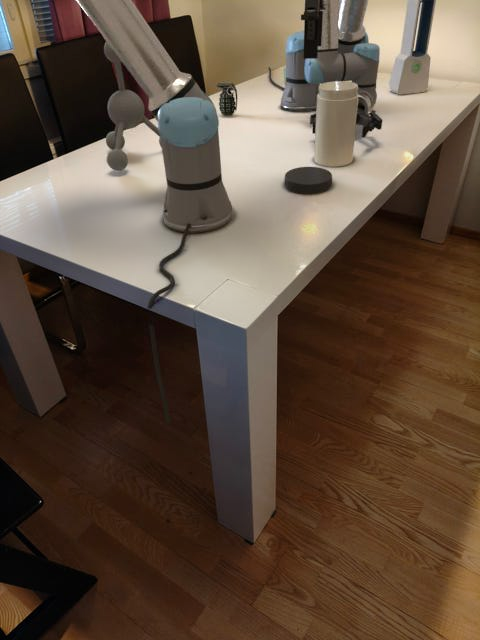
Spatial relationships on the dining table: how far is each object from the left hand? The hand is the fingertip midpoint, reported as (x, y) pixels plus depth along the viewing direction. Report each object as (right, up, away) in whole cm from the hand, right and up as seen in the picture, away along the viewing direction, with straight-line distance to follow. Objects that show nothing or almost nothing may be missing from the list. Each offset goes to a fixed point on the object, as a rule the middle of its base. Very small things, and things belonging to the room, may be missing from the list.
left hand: (312, 52), depth 101 cm
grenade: (-19, +15, +68) cm, 73 cm away
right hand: (+11, -5, +30) cm, 32 cm away
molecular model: (-43, -9, +39) cm, 59 cm away
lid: (+1, -21, +16) cm, 27 cm away
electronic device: (+48, +30, +82) cm, 100 cm away
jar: (+10, -12, +30) cm, 34 cm away
